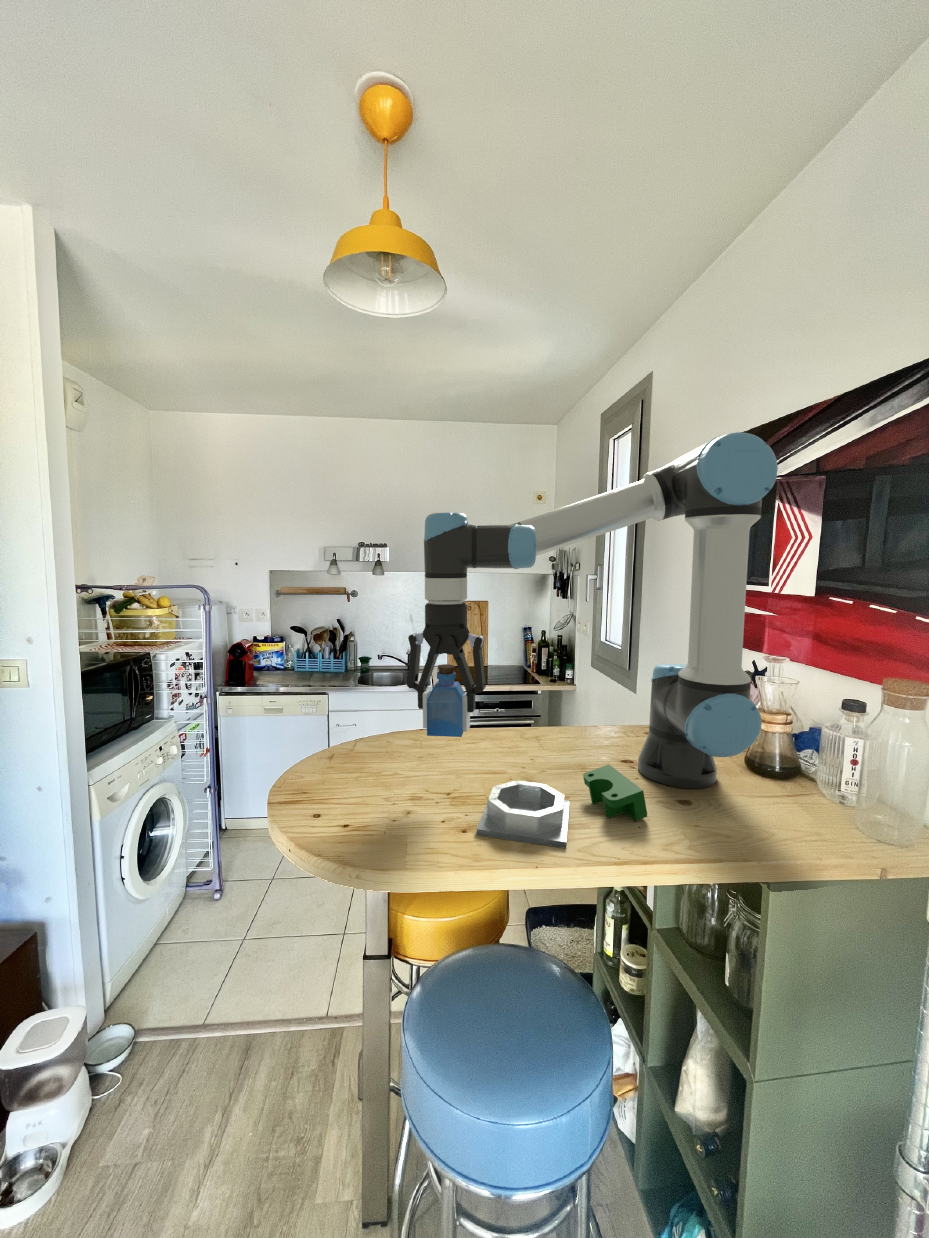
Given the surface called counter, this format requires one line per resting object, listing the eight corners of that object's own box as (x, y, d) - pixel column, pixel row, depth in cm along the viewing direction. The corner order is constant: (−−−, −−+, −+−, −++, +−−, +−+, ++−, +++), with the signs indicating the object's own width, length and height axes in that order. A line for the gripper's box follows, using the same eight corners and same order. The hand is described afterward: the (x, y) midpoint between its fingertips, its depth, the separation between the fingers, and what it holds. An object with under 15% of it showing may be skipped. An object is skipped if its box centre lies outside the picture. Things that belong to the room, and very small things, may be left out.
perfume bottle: (465, 725, 97) (465, 662, 95) (461, 736, 91) (461, 670, 89) (432, 724, 97) (432, 662, 96) (426, 735, 91) (426, 669, 90)
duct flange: (569, 806, 92) (570, 784, 91) (566, 848, 78) (567, 823, 78) (492, 796, 95) (493, 775, 95) (476, 834, 82) (477, 811, 81)
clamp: (594, 823, 95) (577, 774, 97) (622, 812, 96) (605, 764, 98) (621, 830, 84) (602, 775, 86) (653, 818, 85) (633, 764, 87)
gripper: (504, 601, 93) (503, 725, 95) (401, 599, 97) (403, 717, 100) (496, 604, 85) (495, 738, 88) (386, 602, 90) (388, 729, 93)
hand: (446, 727), depth 94 cm, fingers closed on perfume bottle, 7 cm apart
